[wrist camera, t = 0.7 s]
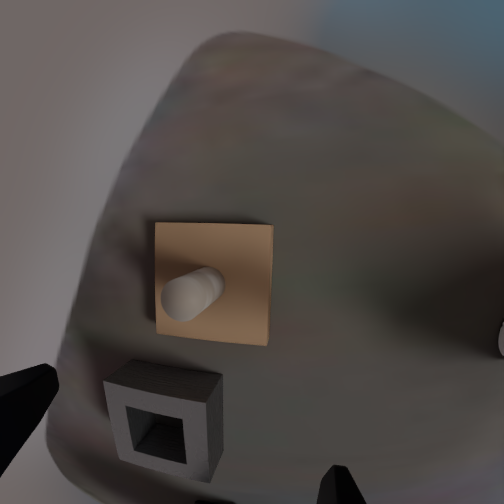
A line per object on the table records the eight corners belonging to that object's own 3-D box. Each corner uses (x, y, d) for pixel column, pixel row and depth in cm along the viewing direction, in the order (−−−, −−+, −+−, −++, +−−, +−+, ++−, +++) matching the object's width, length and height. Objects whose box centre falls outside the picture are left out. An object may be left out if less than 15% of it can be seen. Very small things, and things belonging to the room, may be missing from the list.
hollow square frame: (223, 450, 21) (209, 483, 17) (141, 432, 22) (119, 459, 18) (222, 374, 21) (205, 403, 17) (131, 359, 22) (103, 380, 18)
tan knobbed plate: (269, 337, 20) (254, 379, 14) (166, 326, 21) (120, 358, 15) (273, 225, 19) (259, 223, 13) (165, 222, 20) (115, 221, 14)
